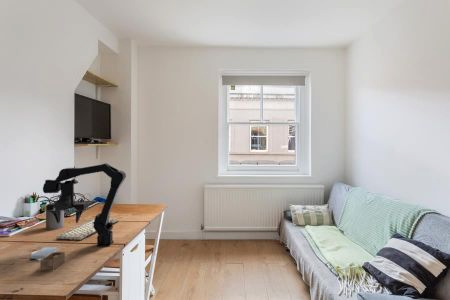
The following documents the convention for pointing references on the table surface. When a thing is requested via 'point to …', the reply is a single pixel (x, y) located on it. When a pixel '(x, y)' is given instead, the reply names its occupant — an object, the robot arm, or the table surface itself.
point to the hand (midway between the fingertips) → (67, 223)
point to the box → (52, 261)
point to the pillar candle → (54, 221)
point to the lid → (44, 252)
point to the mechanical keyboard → (82, 231)
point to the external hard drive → (38, 258)
